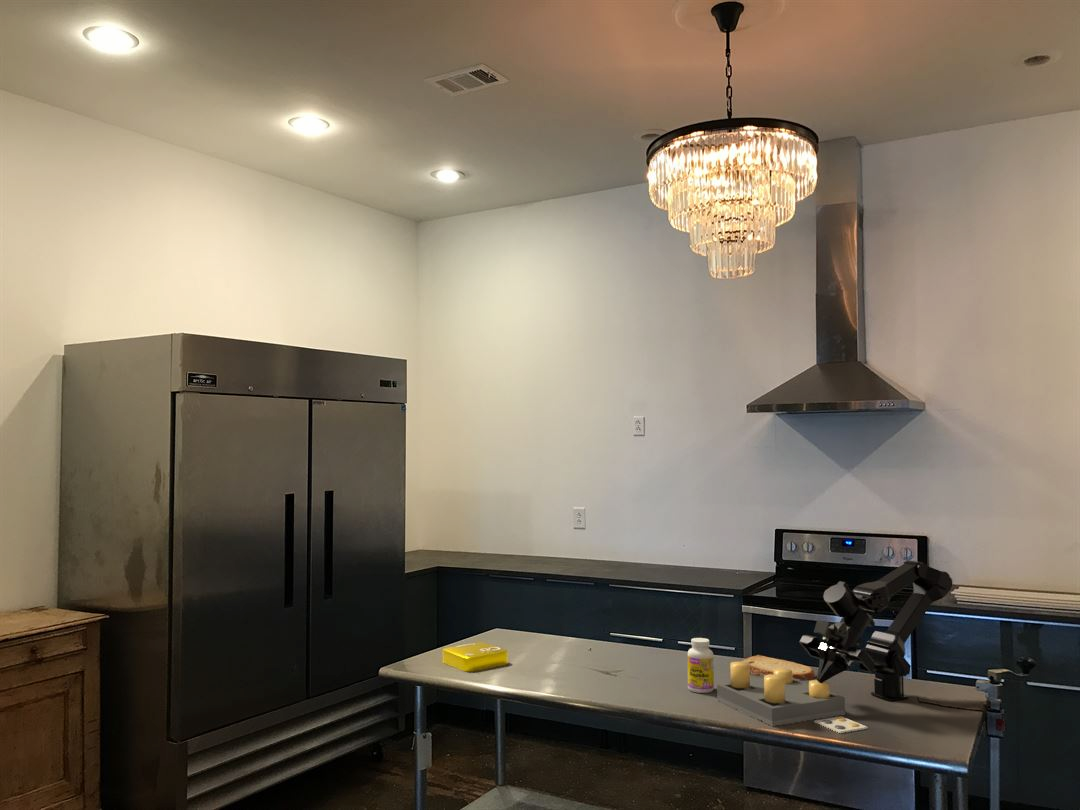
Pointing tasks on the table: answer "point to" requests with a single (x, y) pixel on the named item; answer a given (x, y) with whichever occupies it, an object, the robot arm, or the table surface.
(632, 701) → the table surface
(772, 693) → the button
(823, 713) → the grey flat square block
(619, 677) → the table surface
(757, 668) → the slice of bread
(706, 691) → the supplement bottle
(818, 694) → the button
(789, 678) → the button
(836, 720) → the card
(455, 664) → the element tile
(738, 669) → the button
